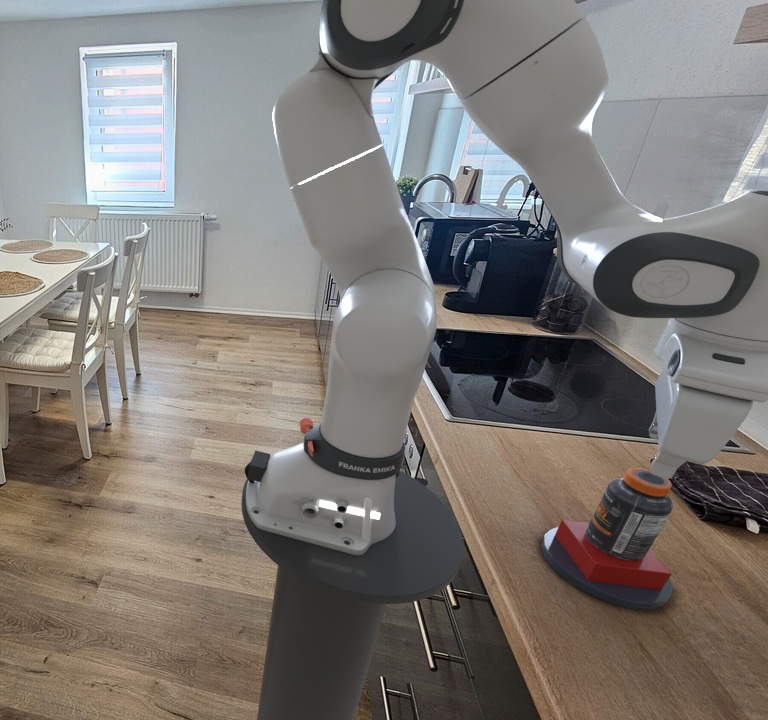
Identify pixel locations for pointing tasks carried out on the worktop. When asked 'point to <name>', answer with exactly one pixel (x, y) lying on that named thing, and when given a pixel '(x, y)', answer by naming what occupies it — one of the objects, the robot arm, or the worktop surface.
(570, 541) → the red block
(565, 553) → the plate
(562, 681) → the worktop surface
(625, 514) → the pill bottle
